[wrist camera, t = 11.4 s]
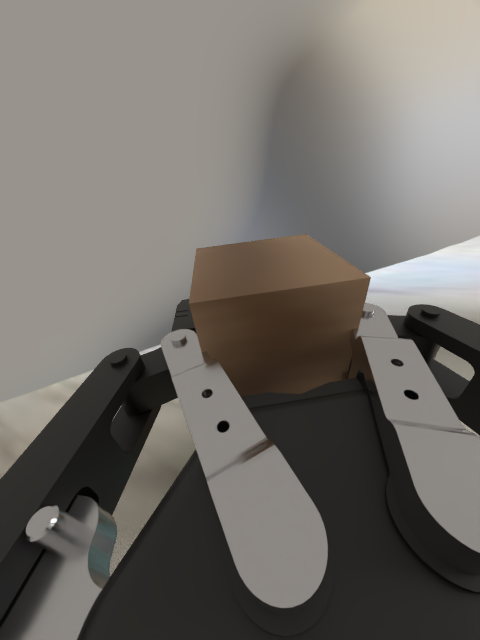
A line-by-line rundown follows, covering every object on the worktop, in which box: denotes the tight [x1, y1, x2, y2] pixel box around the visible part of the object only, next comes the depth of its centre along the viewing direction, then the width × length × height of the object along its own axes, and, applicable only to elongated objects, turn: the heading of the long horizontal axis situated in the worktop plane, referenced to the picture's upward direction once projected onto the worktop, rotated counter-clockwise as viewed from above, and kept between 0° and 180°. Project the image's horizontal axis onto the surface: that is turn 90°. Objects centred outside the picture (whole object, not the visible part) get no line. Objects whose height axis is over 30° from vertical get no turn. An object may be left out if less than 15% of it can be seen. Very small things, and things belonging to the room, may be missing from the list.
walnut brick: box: [189, 234, 371, 397], centre depth 11 cm, size 5×5×9 cm
